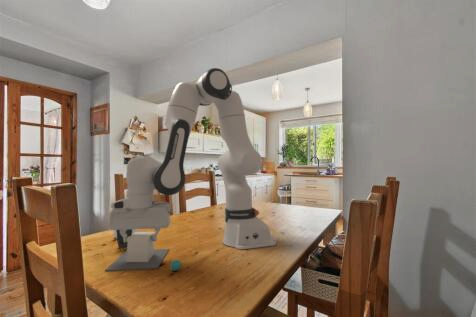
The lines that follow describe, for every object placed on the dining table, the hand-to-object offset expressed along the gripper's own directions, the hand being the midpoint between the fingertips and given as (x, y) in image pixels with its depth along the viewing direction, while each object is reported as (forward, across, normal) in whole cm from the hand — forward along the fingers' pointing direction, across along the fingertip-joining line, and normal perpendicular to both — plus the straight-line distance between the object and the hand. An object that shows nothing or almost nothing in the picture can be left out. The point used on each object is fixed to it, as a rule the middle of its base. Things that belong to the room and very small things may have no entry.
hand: (140, 241), depth 80 cm
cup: (+6, +16, -28) cm, 33 cm away
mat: (+6, 0, 0) cm, 6 cm away
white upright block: (+6, 0, 0) cm, 6 cm away
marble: (+5, -14, +10) cm, 18 cm away
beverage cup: (+6, +11, -14) cm, 19 cm away
